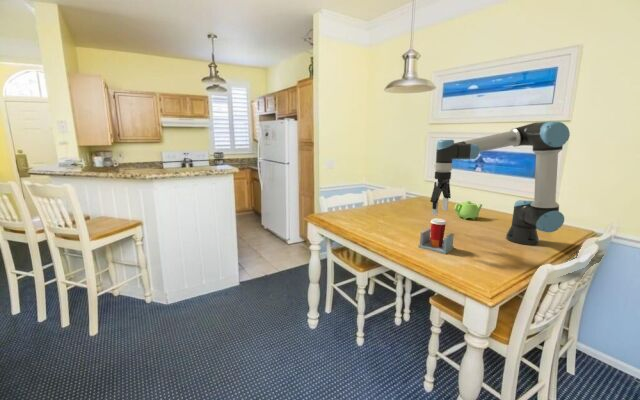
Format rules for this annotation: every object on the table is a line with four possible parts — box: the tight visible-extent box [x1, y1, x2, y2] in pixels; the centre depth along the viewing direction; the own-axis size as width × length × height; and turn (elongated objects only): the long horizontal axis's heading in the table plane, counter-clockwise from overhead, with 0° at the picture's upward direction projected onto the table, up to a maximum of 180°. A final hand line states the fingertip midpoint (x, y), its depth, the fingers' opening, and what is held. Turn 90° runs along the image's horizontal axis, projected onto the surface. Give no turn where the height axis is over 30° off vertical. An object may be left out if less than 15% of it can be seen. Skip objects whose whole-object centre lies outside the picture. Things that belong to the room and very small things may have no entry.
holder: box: [417, 227, 455, 255], centre depth 156 cm, size 14×12×8 cm
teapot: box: [453, 200, 483, 221], centre depth 214 cm, size 20×13×13 cm
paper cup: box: [430, 218, 447, 248], centre depth 155 cm, size 8×8×14 cm
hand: (439, 212), depth 153 cm, fingers open, 13 cm apart
